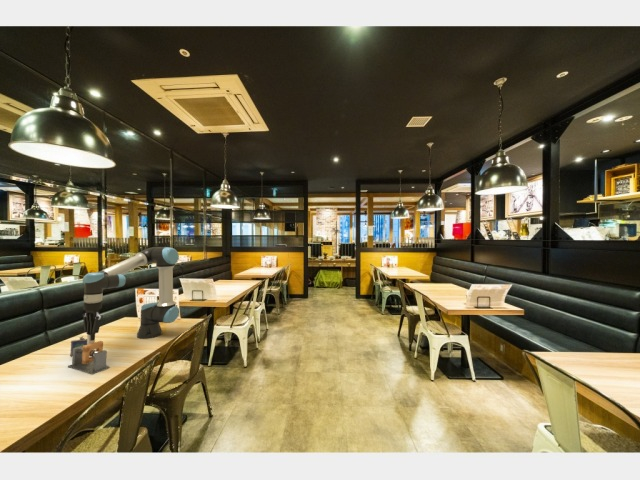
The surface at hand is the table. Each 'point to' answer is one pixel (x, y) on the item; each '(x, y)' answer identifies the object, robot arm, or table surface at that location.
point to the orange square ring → (88, 348)
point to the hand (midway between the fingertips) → (90, 346)
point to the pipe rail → (91, 367)
